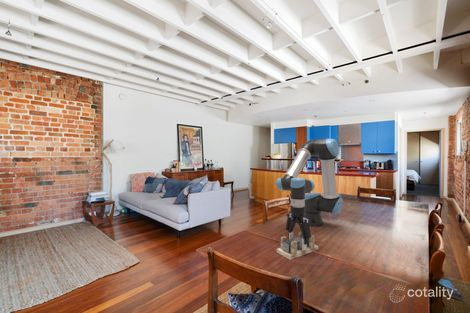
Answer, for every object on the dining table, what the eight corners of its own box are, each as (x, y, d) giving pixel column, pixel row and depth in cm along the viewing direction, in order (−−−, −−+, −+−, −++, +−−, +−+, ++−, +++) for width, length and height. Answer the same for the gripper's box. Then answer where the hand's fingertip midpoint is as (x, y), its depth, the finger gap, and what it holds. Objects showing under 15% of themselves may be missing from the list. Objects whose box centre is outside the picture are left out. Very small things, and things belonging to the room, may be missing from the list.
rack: (304, 243, 134) (304, 230, 134) (318, 249, 126) (318, 235, 126) (276, 252, 123) (276, 238, 122) (290, 259, 114) (290, 244, 114)
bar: (304, 242, 131) (304, 234, 131) (311, 245, 127) (311, 237, 127) (282, 250, 121) (282, 241, 121) (288, 253, 117) (288, 244, 117)
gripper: (279, 203, 131) (279, 241, 131) (308, 211, 112) (308, 255, 113) (288, 201, 135) (288, 238, 135) (318, 209, 116) (318, 252, 117)
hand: (297, 246), depth 124 cm, fingers open, 9 cm apart
